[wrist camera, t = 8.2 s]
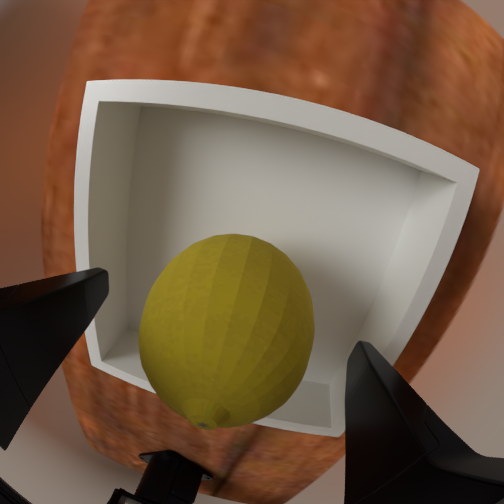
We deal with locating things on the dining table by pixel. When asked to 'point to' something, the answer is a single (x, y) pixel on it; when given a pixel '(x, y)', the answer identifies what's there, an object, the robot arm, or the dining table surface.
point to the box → (264, 217)
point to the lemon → (227, 331)
